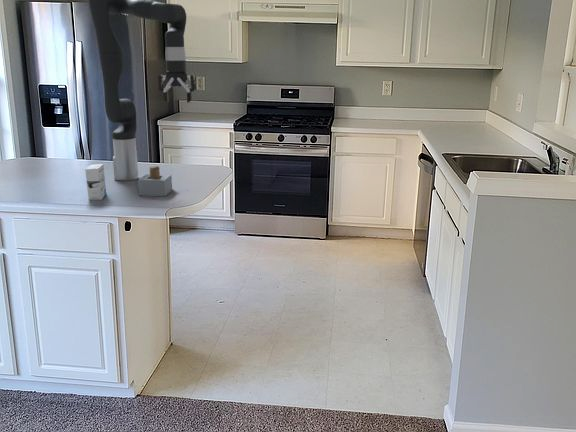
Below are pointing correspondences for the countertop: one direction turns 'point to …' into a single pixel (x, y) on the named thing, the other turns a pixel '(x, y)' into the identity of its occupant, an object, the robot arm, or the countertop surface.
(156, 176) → the walnut dowel
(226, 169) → the countertop surface
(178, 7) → the robot arm
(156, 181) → the socket block
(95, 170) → the ink box
